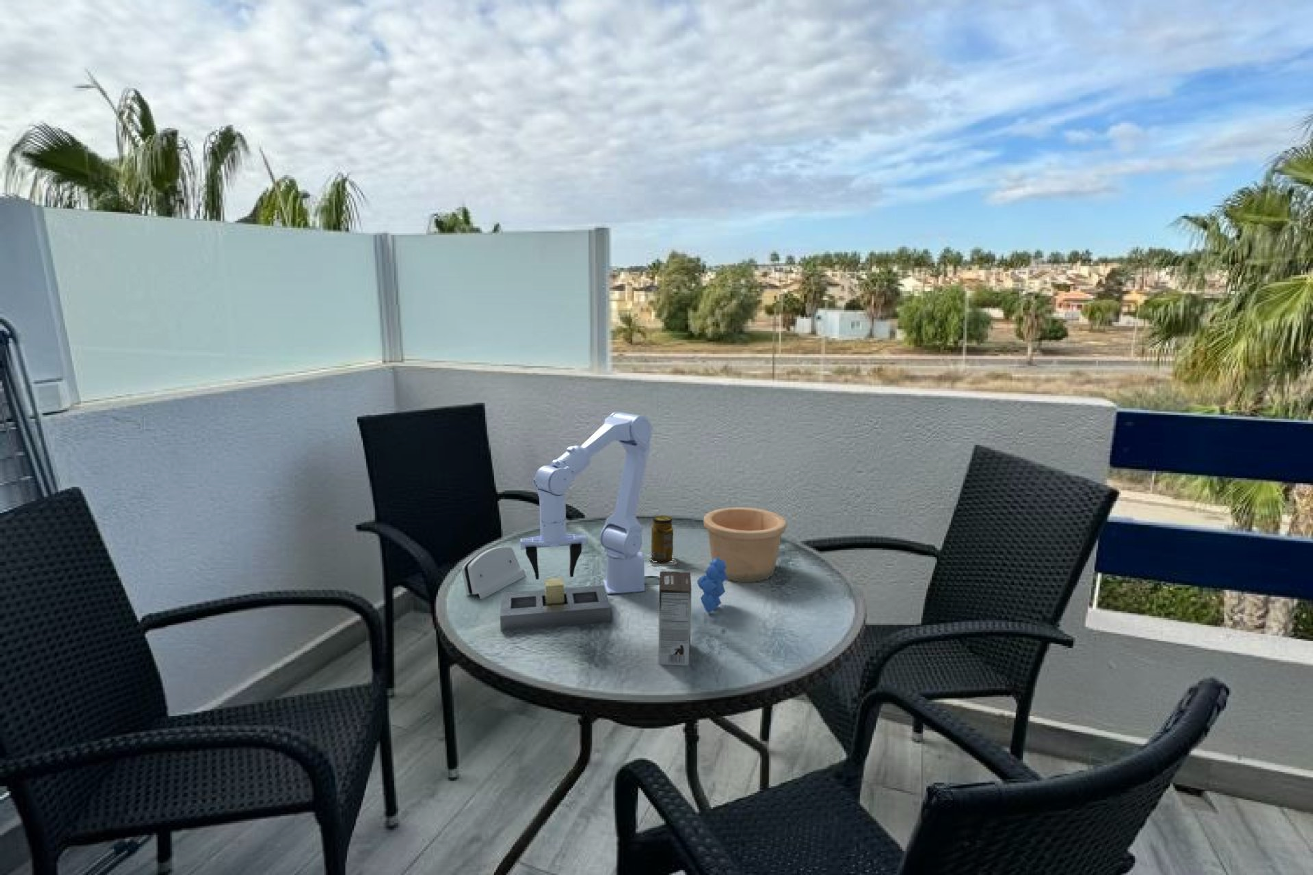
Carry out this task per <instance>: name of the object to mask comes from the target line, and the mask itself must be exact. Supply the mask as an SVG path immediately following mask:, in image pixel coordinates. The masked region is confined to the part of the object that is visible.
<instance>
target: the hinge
mask: <svg viewBox="0 0 1313 875" xmlns="http://www.w3.org/2000/svg"><path fill="white" fill-rule="evenodd" d="M461 573H462V578H463V583H464V589H465V593H466V595H467V596H471V595H477V594H478V595H479V599H480V600H483V599H485V598H487V597H488V596H491V595H492V594H495V593H496V592H498V591H500V590H502V589H504V588H505V587H508V586H509V585H512V584H514V583H515V582H517V581H520V580H522V579H523V578H525V577H527V575H526V572H525V569H524V568H523V567H521V564H520V562H519V560H518V559H517V556H516V554H515V551H514V549H513V548H512V547H510V546H497V547H494V548H489V549H485V550H483V551H481V552H478V553H477V554H475V555H474V556H472V557H471V558H470V559H469V560H468V561H466V562H465V563H464V565H462V566H461Z"/></svg>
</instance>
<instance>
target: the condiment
mask: <svg viewBox="0 0 1313 875" xmlns="http://www.w3.org/2000/svg"><path fill="white" fill-rule="evenodd" d="M672 525H673V519H672V517H671V516H669V515H657V516H654V517H653V519H652V526H651V543H650V544H651V545H650V546H651V549H650V551H651V552H650V554H651V556H652V557H651V558H648V557H647V559H648V560H649V559H652V560H653V561H657V562H653V561H652V560H649V561H650V565H652V566H656V567H657V566H660V567H661V566H670V565H678V564H679V562H678V561H677V560H676V558H675V557H674V558H672V555H673V553H674V527H673V526H672ZM646 556H650V555H647V554H646ZM673 556H674V555H673ZM672 559H674V560H672ZM669 561H673V562H669ZM677 563H678V564H677Z"/></svg>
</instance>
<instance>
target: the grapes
mask: <svg viewBox="0 0 1313 875" xmlns="http://www.w3.org/2000/svg"><path fill="white" fill-rule="evenodd" d="M726 568H727V567H726V565H725V562H724V561H723V560H721V559H719V558H715V559H713V560H711V561H710V563H709V566H708V567H707V568H706V569H705V570H704V574H705V575H702V576H701V577H699V578H698V579H697V581H696V582H697V585H698V588H699V589H701V590H702V592H703V594H702V595H701V597H700V601H701V603H702V606H703V609H704V610H705V611H706V612H707V613H712V612H713V611H715V609H717V608H718V606H720V604H721V603H722V602H721V599H720V597H721V596H722V595H724V593H726V590H725V587H724V586H725V585H724V582H725V581H726V580H727V575H726V573H725V571H724V570H725V569H726Z"/></svg>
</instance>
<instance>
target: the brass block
mask: <svg viewBox="0 0 1313 875" xmlns="http://www.w3.org/2000/svg"><path fill="white" fill-rule="evenodd" d="M544 588H545V589H544V590H545V595H546V606H552V605H564V588H565V584H564V579H563V577H554V578H553V577H552V578H545V579H544Z"/></svg>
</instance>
